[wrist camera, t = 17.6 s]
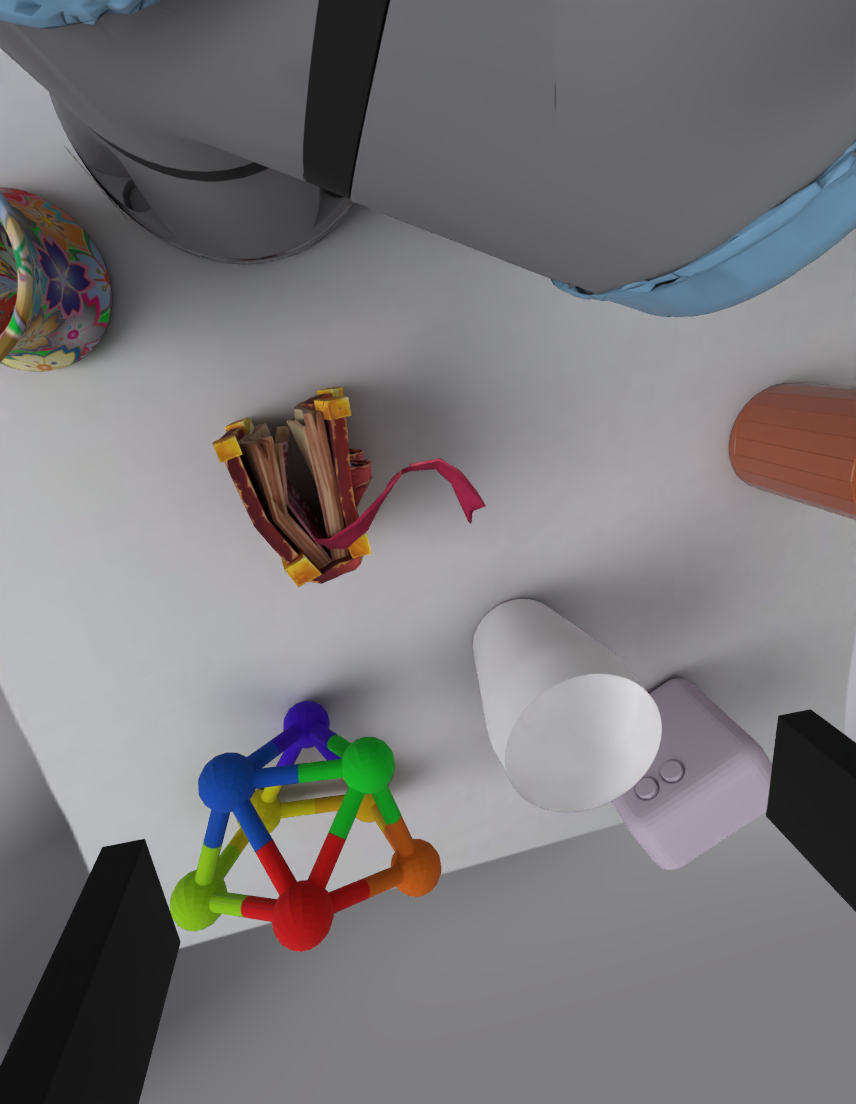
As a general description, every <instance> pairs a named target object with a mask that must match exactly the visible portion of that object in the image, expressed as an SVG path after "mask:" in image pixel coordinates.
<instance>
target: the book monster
mask: <svg viewBox="0 0 856 1104" xmlns="http://www.w3.org/2000/svg"><path fill="white" fill-rule="evenodd" d="M317 395H318V396H315V397H313V398H310V399H308V400H307V401H305V402H302V403H300V404H298V405H297V406H296V407H295V408H294V411H295V412H294V417H295V420H296V421H295V420H293V419H289V420H287V424H288V426H277V429H276V435H275V441H274V443H273V438H272V436H271V435H270V433H269V430H268V427H267V424H266V423H263V424H259V425H256V426H253V424H252V421H251V418H250V417H249V418H246V419H243V420H239V421H236V422H233V423H231V424H230V425H228V426H226V427H225V429H226V431H227V433H226V434H225V435H224V436H222V437H221V438H220V439H219V440H217V441H214V442H213V446H214V449H215V451H216V453H217V456H218V458H219V460H220V463H221V462H224V461H225V463H226V466H227V468H228V470H229V473H230V475H231V477H232V480H233V482H234V484H235V486H236V488H237V490H238V492H239V495H240V497H241V499H242V501H243V503H244V505H245V507H246V510H247V512H248V514H249V516H250V518H251V520H252V522H253V525H254V527H255V528H256V529H257V530H258V531H259V532H260V534H261V535H262V536H263V537H264V538H265V539H266V541H267V542H268V543H269V544H270V545H271V546H272V547H273V549H274V550H275V551H276V552H277V553H278V554H279V556H280V557H281V558H282V563H283V566H284V570H285V571H286V572H287V573H288V575H289V576H290V577H291V578H292V580H293V581H294V582H295V583H296V584H297V586H298V587H300V586H302V585H303V584H305V583H306V582H308V581H309V582H315V583H321V584H322V583H324V582H326V581H329V580H331V579H334V578H336V577H338V576H340V575H342V574H344V573H347V572H350V571H353V570H355V569H356V568H357V567H358V566H359V565H360V564H361V561H362V558H363V555H368V554H372V553H371V549H370V545H369V541H368V537H367V533H366V531H367V530H368V529H369V527H370V525H371V523H372V521H373V519H374V517H375V515H376V513H377V512H378V510H379V508H380V506H381V504H382V503H383V501H384V500H385V498H386V497H387V495H388V494H389V492H390V490H391V489H392V487H393V486H394V484H395V483H396V482H397V480H398V479H399V478H400V477H401V475H403V474H404V473H407V472H410V471H419V470H431V469H436V470H437V471H438V472H439V473H440V474H441V475H442V476H443V477H444V478H445V479H446V480H448V481H449V482H450V483H451V484H452V486H453V489H454V491H455V493H456V496H457V498H458V500H459V502H460V505H461V507H462V509H463V511H464V513H465V515H466V517H467V519H468V522H470V523H471V521H472V513H473V511H474V510H477V509H480V508H482V507H485V506H486V505H485V504H484V502H483V500H482V499H481V497H480V495H479V494H478V492H477V490H476V489H475V488H474V487H473V486H472V484H471V483H470V482H469V481H468V479H467V478H466V477H465V476H464V474H463V473H462V472H461V471H460V470H459V469H457V468H455V467H454V466H452V465H450V464H448V463H447V462H445V461H443V460H442V459H440V458H439V459H434V460H428V461H422V462H417V463H413V464H410V467H407V468H405V469H402V470H401V471H400V472H399V473H397V474H396V475H395V476H394V477H393V478H392V479H391V481H390V482H389V483H388V485H387V487H386V489H385V490H384V492H383V493H382V494H381V495H380V496H379V497H378V498H377V500H376V501H375V502H374V503H373V504H372V505H371V506H370V507H369V508H368V509H367V510H366V511H365V512H364V513H363V514H362V515H361V517H359V515H358V513H357V509H356V508H357V506H358V504H359V502H360V500H361V498H362V495H363V493H364V492H365V491H366V489H367V487H368V484H369V482H370V480H371V478H372V477H371V461H369V460H364V454H363V450H362V449H349V445H348V432H347V421H346V417H347V416H351V410H350V404H349V398H348V397H344V395H343V387H337V388H327V389H323V390H318V391H317ZM290 430H291V432H292V434H293V436H294V438H295V440H296V442H297V444H298V446H299V448H300V450H301V452H302V454H303V457H304V459H305V461H306V463H307V465H308V467H309V469H310V471H311V473H312V476H313V479H314V483H315V487H316V491H317V495H318V498H319V502H320V506H321V510H322V514H323V518H324V523H325V525H324V526H323V524H322V523H321V522H320V520H319V519H318V518H317V516H316V515H315V514H314V512H313V511H312V510H311V509H310V507H309V506H308V505H307V503H306V502H305V501H304V499H303V498H302V497H301V495H300V494H299V493H298V491H297V490H296V489H295V487H294V486H293V485H292V483H291V482H290V481H289V479H288V478H287V474H288V454H289V433H290Z"/></svg>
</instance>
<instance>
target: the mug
mask: <svg viewBox="0 0 856 1104" xmlns="http://www.w3.org/2000/svg"><path fill="white" fill-rule="evenodd" d="M111 302H112V297H111V287H110V281H109V277H108V273H107V270H106V267H105V264H104V262H103V260H102V258H101V255H100V254H99V252H98V250H97V248H96V247H95V245H94V243H93V242H92V240H91V239H90V238H89V236H88V235H87V234H86V232H85V231H84V230H83V229H82V228H81V227H80V226H79V224H78V223H77V222H76V221H74V220H73V219H72V218H71V217H70V216H69V215H68V214H66V213H65V212H64V211H63V210H61V209H60V208H58V207H57V206H55V205H54V204H52V203H51V202H49V201H47V200H45V199H43V198H41V197H39V196H36V195H34V194H31V193H28V192H25V191H21V190H17V189H12V188H3V187H0V364H2V365H5V366H8V367H11V368H15V369H20V370H25V371H52V370H57V369H61V368H64V367H67V366H69V365H72V364H74V363H76V362H77V361H79V360H81V359H82V358H84V357H85V356H86V355H87V354H88V353H90V352H91V351H92V350H93V349H94V348H95V346H96V345H97V344H98V343H99V341H100V340H101V338H102V336H103V334H104V332H105V330H106V328H107V325H108V322H109V318H110V313H111Z"/></svg>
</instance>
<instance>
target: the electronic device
mask: <svg viewBox="0 0 856 1104" xmlns="http://www.w3.org/2000/svg"><path fill="white" fill-rule="evenodd" d="M649 695H650V696H651V697H652V698H653V700H654V702H655V703H656V705H657V707H658V710H659V713H660V717H661V724H662V734H661V741H660V745H659V749H658V751H657V754H656V756H655V758H654V761H653V762H652V764H651V766H650V767H649V769H648V770H647V772H646V773H645V774H644V775H643V777H642V778H641V779H640V780H639V781H638V782H637V783H636V784H635V785H634V786H633V787H632V788H631V789H629V790H628V791H627V792H625V793H624V794H623V795H621V796H620V797H618V798H616V799H615V800H613V801H611V802H612V803H613V805H614V807H615V808H616V810H617V811H618V813H619V815H620V816H621V818H622V819H623V821H624V823H625V824H626V826H627V827H628V829H629V831H630V832H631V833H632V835H633V836H634V837H635V838H636V840H637V841H638V842H639V843H640V845H641V846H642V847H643V848H644V850H645V851H646V852H647V853H648V855H649V856H650V857H651V858H652V859H653V861H654V862H655V863H656V864H657V865H658V866H659V867H662V868H664V869H668V870H672V869H673V870H674V869H678V868H681V867H683V866H684V865H686V864H687V863H689V862H690V861H692V860H693V859H695V858H696V857H698V856H699V855H701V854H702V853H704V852H705V851H707V850H708V849H710V848H711V847H713V846H714V845H716V844H717V843H719V842H720V841H722V840H723V839H725V838H726V837H728V836H729V835H731V834H732V833H734V832H735V831H737V830H738V829H740V828H741V827H743V826H744V825H746V824H747V823H749V822H750V821H752V820H753V819H755V818H756V817H758V816H759V815H761V814H762V813H764V812H765V811H767V803H768V795H769V787H770V779H771V771H772V764H771V762H770V760H769V759H768V757H767V755H766V754H765V752H764V750H763V749H762V748H761V746H760V745H759V744H758V743H757V742H756V741H755V740H754V739H753V738H752V737H751V736H749V735H748V734H747V733H746V732H745V731H744V730H743V729H742V728H741V727H740V726H739V725H737V724H736V723H735V722H734V721H733V720H732V719H731V718H730V717H729V716H728V715H727V714H725V713H724V712H723V711H722V710H721V709H720V708H719V707H718V706H717V705H716V704H715V703H713V702H712V701H711V700H710V699H709V698H708V697H707V696H706V695H705V694H704V693H703V692H701V691H700V690H699V689H698V688H697V687H696V686H695V685H694V684H693V683H691V682H689V681H688V680H685V679H671V680H669V681H667V682H665V683H664V684H663V685H661V686H660V687H658V688H657V689H655V690H654V691H652V692H651V693H650V694H649Z"/></svg>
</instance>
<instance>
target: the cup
mask: <svg viewBox="0 0 856 1104" xmlns="http://www.w3.org/2000/svg"><path fill="white" fill-rule="evenodd" d="M473 654H474V660H475V665H476V671H477V676H478V682H479V687H480V693H481V698H482V704H483V709H484V715H485V720H486V725H487V730H488V735H489V738H490V741H491V744H492V747H493V749H494V751H495V753H496V755H497V756H498V758H499V760H500V762H501V764H502V765H503V767H504V769H505V771H506V773H507V775H508V777H509V779H510V781H511V783H512V785H513V786H514V788H515V789H516V790H517V792H518V793H519V794H520V795H521V796H522V797H523V798H525V799H526V800H527V801H529V802H530V803H532V804H534V805H536V806H538V807H540V808H543V809H546V810H550V811H556V812H579V811H585V810H590V809H593V808H596V807H599V806H602V805H604V804H607V803H609V802H611V801H613V800H615V799H616V798H618V797H620V796H621V795H623V794H624V793H625V792H627V791H628V790H629V789H631V788H632V787H633V786H634V785H635V784H636V783H637V782H638V781H639V780H640V779H641V778H642V777H643V775H644V774H645V773H646V772H647V770H648V769H649V767H650V766H651V764H652V762H653V761H654V758H655V756H656V754H657V751H658V749H659V745H660V741H661V734H662V724H661V717H660V713H659V710H658V707H657V705H656V703H655V702H654V700H653V698H652V697H651V696H650V695H649V693H648V692H647V691H646V690H645V689H644V687H643V686H642V685H641V684H640V682H639V681H638V680H637V679H636V677H635V676H634V674H633V673H632V672H631V670H630V669H629V667H628V666H627V665H626V664H625V663H624V662H623V661H622V660H621V659H620V658H619V657H618V656H617V655H616V654H614V653H613V652H612V651H610V650H609V649H607V648H606V647H605V646H603V645H602V644H600V643H599V642H598V641H596V640H595V639H593V638H592V637H591V636H589V635H588V634H586V633H585V632H583V631H582V630H581V629H579V628H578V627H576V626H575V625H573V624H572V623H571V622H569V621H568V620H566V619H565V618H563V617H562V616H561V615H559V614H558V613H556V612H555V611H553V610H552V609H551V608H549V607H548V606H546V605H545V604H543V603H541V602H538V601H535V600H531V599H516V600H511V601H507V602H505V603H502V604H500V605H498V606H497V607H495V608H494V609H492V610H491V611H490V612H488V613H487V614H486V615H485V617H484V618H483V619H482V620H481V622H480V623H479V625H478V627H477V629H476V631H475V634H474V638H473Z"/></svg>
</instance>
